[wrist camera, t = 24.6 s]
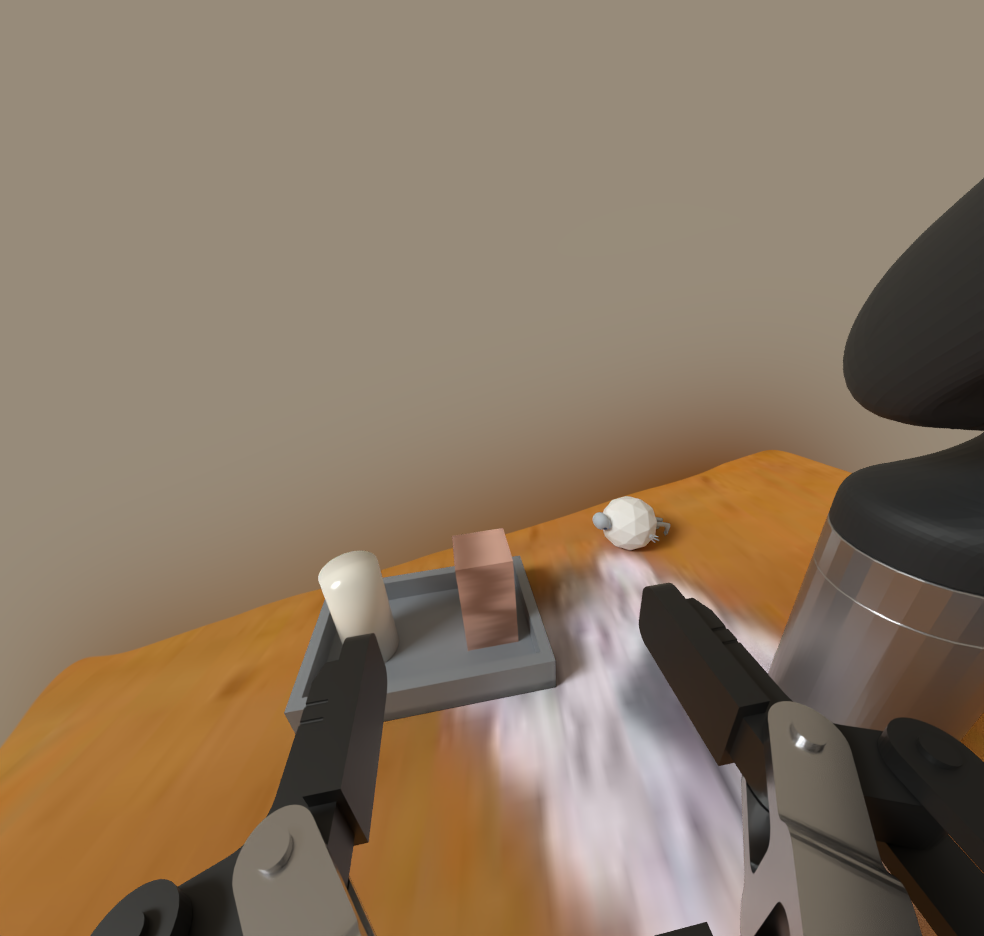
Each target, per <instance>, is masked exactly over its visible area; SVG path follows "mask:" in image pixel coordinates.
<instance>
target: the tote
mask: <svg viewBox="0 0 984 936" xmlns="http://www.w3.org/2000/svg"><path fill="white" fill-rule="evenodd" d="M512 559H513V568H514V582H515V597H516V612H517V626H518V641H519V642H513V643H508V644H502V645H497V646H492V647H486V648H481V649H476V650H470V651H468V648H467V642H466V636H465V629H464V623H463V617H462V610H461V604H460V598H459V591H458V585H457V579H456V572H455V566H453V567H447V568H441V569H435V570H429V571H422V572H416V573H410V574H404V575H398V576H392V577H385V578H383V582H384V585H385V589H386V593H387V596H388V600H389V604H390V607H391V611H392V615H393V618H394V622H395V626H396V629H397V633H398V637H399V644H398V648H397V650H396V652H395V653H394V655H393V656H392V657H391V658H390V659H389V660H388V661H387V662H385V666H386V671H387V696H386V704H385V712H384V720H383V722H384V721H389V720H394V719H399V718H404V717H409V716H414V715H419V714H424V713H429V712H434V711H439V710H444V709H449V708H454V707H459V706H464V705H469V704H474V703H479V702H484V701H489V700H494V699H499V698H504V697H509V696H514V695H519V694H524V693H529V692H534V691H539V690H544V689H549V688H554V687H556V661H555V658H554V655H553V652H552V649H551V646H550V643H549V640H548V637H547V634H546V631H545V628H544V625H543V622H542V620H541V617H540V614H539V611H538V608H537V605H536V602H535V599H534V596H533V593H532V590H531V587H530V584H529V581H528V578H527V576H526V573H525V570H524V567H523V564H522V561H521V558H520V556H515V557H512ZM342 646H343V645H342V642H341V639H340V637H339V634H338V631H337V629H336V626H335V623H334V621H333V618H332V615H331V613H330V610H329V607H328V605H327V602H326V599H325V601H324V604H323V606H322V609H321V612H320V615H319V618H318V620H317V623H316V626H315V629H314V632H313V634H312V637H311V640H310V643H309V645H308V648H307V651H306V654H305V657H304V659H303V662H302V665H301V668H300V671H299V673H298V676H297V679H296V682H295V684H294V687H293V690H292V693H291V696H290V698H289V701H288V704H287V707H286V710H285V712H284V714H285V715H286V717H287V719H288V721H289V723H290V725H291V727H292V728H293V730H294V732H295V734H296V732H297V729H298V726H300V719H301V716H302V713H303V710H304V708H305V707H306V701H307V697H308V694H309V691H310V688H311V685H312V682H313V680H314V679H315V678H316V676H317V675H318V673H319V672H320V670H321V669H322V668H323V666H324V665H325V663H326V662H330V661H335V660H339V657H340V653H341V649H342Z"/></svg>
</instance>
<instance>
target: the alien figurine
mask: <svg viewBox="0 0 984 936" xmlns="http://www.w3.org/2000/svg"><path fill="white" fill-rule="evenodd" d="M662 521H663V519H662V518H658V517H655V514H654V511H653V508H652V507H650V506H649V505H648V504H646V503H645V502H644V501H642V500H640V499H637V498H633V497H628V496H625V497H621V498H618V499H614V500H612V501H611V502H610V503H609V505H608V506H607V507H606V508H605V510H604V512H603V513H601V512H598V513H596V514H595V515H594V516H593V523H594V525H595V526H596V527H597V528H598V529H600V530H601V529H603V531H604V534H605V537H606V538H607V539H608V540H609V541H611V542H612V543H613V544H614V545H615V546H617V547H621V548H624V549H628V550H633V549H637V548H641V547H644V546H646V545H647V544H648V543H649V542H650V541H651V540H652V541H653V542H654V543H656V542H655V541H654V540H653V539H655V540H657V541H659V540H658V539H656V538H654V537H659V536H655V533H656V529H659V527H660V526H661V527H665V531H664V534H665V536H666V533H667V534H668V531H669V529H670V523H665V522H662Z"/></svg>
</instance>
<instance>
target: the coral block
mask: <svg viewBox="0 0 984 936" xmlns="http://www.w3.org/2000/svg"><path fill="white" fill-rule="evenodd" d="M452 539H453V551H454V562H455V572H456V579H457V585H458V591H459V598H460V604H461V610H462V617H463V623H464V629H465V636H466V642H467V648H468V651H470V650H476V649H481V648H486V647H492V646H497V645H502V644H508V643H513V642H519V641H518V626H517V612H516V597H515V582H514V568H513V559H512V556H511V553H510V550H509V546H508V543H507V540H506V537H505V533H504V530H503V529H502V528H501V529H495V530H488V531H482V532H475V533H468V534H462V535H455V536H453V537H452Z"/></svg>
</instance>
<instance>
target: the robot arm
mask: <svg viewBox="0 0 984 936" xmlns="http://www.w3.org/2000/svg"><path fill="white" fill-rule="evenodd" d="M843 372H844V377H845V381H846V385H847V387H848V389H849V391H850V392H851V394H852V396H853V397H854V399H855V400H856V401H857V402H859V404H861V405H862V406H863V407H864V408H865V409H867V410H869V411H870V412H872V413H874V414H876V415H878V416H880V417H883V418H886V419H890V420H894V421H897V422H901V423H905V424H910V425H915V426H922V427H933V428H950V429H963V430H980V431H984V178H983V179H982V180H981V181H980V182H979V183H978V184H977V185H975V186H974V187H973V188H972V189H971V190H970V191H969V192H967V193H966V195H964V196H963V197H962V198H961V199H960V200H959V201H957V202H956V203H955V204H954V205H953V206H952V207H951V208H950V209H949V210H948V211H946V212H945V213H944V214H943V215H942V216H941V217H940V218H939V219H938V220H937V221H935V222H934V223H933V224H932V225H931V226H930V227H929V228H928V229H927V230H926V231H925V232H924V233H923V234H922V235H921V236H920V237H919V238H918V239H916V241H915V242H914V243H913V244H912V245H911V246H910V247H909V248H908V249H907V250H906V251H905V252H904V253H903V254H902V255H901V257H899V259H898V260H897V261H896V262H895V263H894V264H893V265H892V266H891V268H890V269H889V270H888V271H887V273H886V274H885V275H884V276H883V278H882V279H881V280H880V282H879V283H878V284H877V285H876V287H875V288H874V290H873V291H872V293H871V294H870V296H869V298H868V299H867V301H866V302H865V304H864V305H863V307H862V309H861V310H860V312H859V314H858V316H857V318H856V320H855V322H854V324H853V326H852V328H851V331H850V334H849V336H848V339H847V342H846V346H845V351H844V357H843ZM639 629H640V633H641V636H642V639H643V641H644V643H645V645H646V647H647V648H648V650H649V652H650V653H651V655H652V657H653V658H654V660H655V662H656V663H657V665H658V667H659V668H660V670H661V671H662V673H663V675H664V676H665V678H666V680H667V681H668V683H669V685H670V686H671V688H672V690H673V691H674V693H675V695H676V696H677V698H678V700H679V701H680V703H681V705H682V706H683V708H684V710H685V711H686V713H687V715H688V716H689V718H690V720H691V721H692V723H693V724H694V726H695V728H696V729H697V731H698V733H699V734H700V736H701V738H702V739H703V741H704V743H705V744H706V746H707V748H708V749H709V751H710V753H711V754H712V756H713V758H714V759H715V761H716V763H717V764H718V766H721V765H726V764H730V763H735V764H736V766H737V767H738V769H739V770H740V772H741V773H742V778H741V794H742V820H743V846H744V888H743V894H742V900H741V912H740V936H922V934H921V930H920V927H919V924H918V920H917V917H916V914H915V911H914V908H913V905H912V902H913V903H914V905H915V906H916V907H917V909H918V910H919V911H920V913H921V914H922V915H923V917H924V918H925V919H926V921H927V922H928V923H929V925H930V926H931V927H932V929H933V930H934V931H935V933H936V934H937V935H938V936H984V874H983V873H982V872H981V871H980V869H981V870H982V871H983V872H984V762H983V761H982V760H981V759H980V758H978V757H977V756H976V755H975V754H974V753H973V752H972V751H971V750H970V749H968V748H967V747H966V746H965V745H964V744H962V743H961V742H960V740H961V739H962V738H963V737H964V735H965V734H966V733H967V732H968V731H969V729H970V728H971V727H972V726H973V724H974V723H975V722H976V721H977V720H978V718H979V717H980V716H981V715H982V714H983V712H984V432H983V433H982V434H981V435H979V436H977V437H975V438H973V439H971V440H969V441H966V442H964V443H962V444H959V445H957V446H954V447H952V448H949V449H946V450H942V451H939V452H936V453H933V454H929V455H925V456H920V457H915V458H911V459H905V460H900V461H895V462H890V463H884V464H878V465H873V466H869V467H866V468H863V469H860V470H858V471H856V472H854V473H852V474H851V475H849V476H848V477H847V478H846V479H845V480H844V481H843V482H842V484H841V485H840V486H839V489H838V491H837V493H836V495H835V498H834V500H833V503H832V506H831V508H830V511H829V514H828V516H827V519H826V521H825V524H824V527H823V529H822V532H821V534H820V537H819V540H818V542H817V545H816V548H815V551H814V554H813V556H812V559H811V561H810V564H809V567H808V569H807V572H806V575H805V577H804V580H803V583H802V585H801V588H800V590H799V593H798V596H797V598H796V601H795V604H794V606H793V609H792V611H791V614H790V617H789V619H788V622H787V625H786V627H785V630H784V633H783V635H782V638H781V640H780V643H779V646H778V648H777V651H776V653H775V656H774V659H773V661H772V664H771V667H770V670H769V672H768V674H767V673H766V671H765V670H764V669H763V668H762V667H761V666H760V665H759V663H758V662H757V661H756V660H755V659H754V658H753V657H752V656H751V654H750V653H749V652H748V651H747V650H746V649H745V648H744V646H743V645H742V644H741V643H738V641H737V639H736V637H735V636H734V635H733V634H732V633H731V632H730V631H729V629H726V627H725V625H724V624H723V623H722V622H721V620H720V619H719V618H718V617H717V616H716V615H715V614H714V612H713V611H712V610H711V609H709V608H708V607H706V606H705V605H703V604H702V603H700V602H699V601H697V600H696V599H694V598H689V599H685V597H684V596H683V595H682V594H681V593H680V591H679V590H678V589H677V588H676V587H675V586H674V585H673V584H672V583H664V584H658V585H653V586H647V587H645V588H644V589H643V594H642V601H641V609H640V617H639ZM386 696H387V671H386V666H385V663H384V660H383V657H382V654H381V651H380V647H379V644H378V641H377V638H376V635H375V634H374V633H370V634H364V635H358V636H353V637H347V638H346V639H345V640H344V642H343V646H342V649H341V653H340V657H339V660H335V661H330V662H326V663H325V665H324V666H323V668H322V669H321V670H320V672H319V673H318V675H317V676H316V678H315V679H314V680H313V682H312V685H311V688H310V691H309V694H308V697H307V701H306V707H305V708H304V710H303V713H302V716H301V719H300V726H298V729H297V732H296V735H295V738H294V741H293V744H292V747H291V751H290V754H289V757H288V760H287V763H286V766H285V769H284V772H283V776H282V779H281V782H280V785H279V788H278V791H277V794H276V797H275V800H274V803H273V805H272V807H271V809H270V811H269V813H268V815H267V817H266V818H265V819H264V820H263V821H262V822H261V823H260V824H259V825H258V826H257V827H256V828H255V829H254V831H253V832H252V833H251V835H250V836H249V837H248V839H247V840H246V842H245V844H244V845H243V846H242V847H241V848H239V849H238V850H237V851H236V852H234V853H233V854H231V855H230V856H228V857H227V858H225V859H224V860H222V861H220V862H219V863H217V864H215V865H214V866H212V867H210V868H209V869H207V870H205V871H203V872H202V873H200V874H198V875H197V876H195V877H193V878H192V879H190V880H188V881H187V882H185V883H183V884H182V885H180V886H178V887H177V886H176V885H175V884H174V883H173V882H171V881H169V880H165V879H159V880H154V881H151V882H149V883H146V884H144V885H142V886H140V887H139V888H137V889H135V890H134V891H133V892H131V893H130V894H128V895H127V896H126V897H125V898H124V899H122V900H121V901H120V902H119V903H118V904H117V905H116V906H115V907H114V908H113V909H112V910H111V911H110V912H109V913H108V914H107V915H106V916H105V918H104V919H103V920H102V921H101V922H100V924H99V925H98V926H97V927H96V929H95V930H94V931H93V933H92V934H91V936H377V935H376V933H375V931H374V929H373V927H372V924H371V922H370V920H369V918H368V915H367V913H366V911H365V909H364V907H363V904H362V902H361V900H360V898H359V896H358V893H357V891H356V889H355V887H354V884H353V882H352V880H351V878H350V876H349V872H350V865H351V858H352V852H353V846H355V845H359V844H364V843H368V842H369V834H370V825H371V817H372V809H373V801H374V793H375V785H376V777H377V769H378V761H379V753H380V744H381V736H382V728H383V720H384V712H385V704H386ZM948 834H949V835H950V836H951V837H952V838H953V839H954V840H955V842H956V843H957V844H958V845H959V846H960V847H961V848H962V849H963V850H964V851H965V853H966V854H967V855H968V856H969V857H970V858H971V859H972V860H973V861H974V862H975V864H976V865H977V866H978V867H979V868H980V869H979V868H978V867H977V866H976V865H975V864H974V863H973V862H972V861H971V860H970V858H969V857H968V856H967V855H966V854H965V853H964V852H963V851H962V850H961V848H960V847H959V846H958V845H957V844H956V843H955V842H954V841H953V840H952V838H951V837H950V836H949V835H948ZM881 860H882V861H881ZM882 862H883V863H884V864H885V866H886V867H887V868H888V870H889V871H890V872H891V874H890V873H888V872H887V870H886V869H885V867H884V866H883V863H882ZM911 901H912V902H911ZM655 936H713V935H712V933H711V930H710V928H709V926H708V923H707V922H704V923H700V924H697V925H693V926H689V927H685V928H682V929H678V930H674V931H670V932H667V933H663V934H659V935H655Z"/></svg>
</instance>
